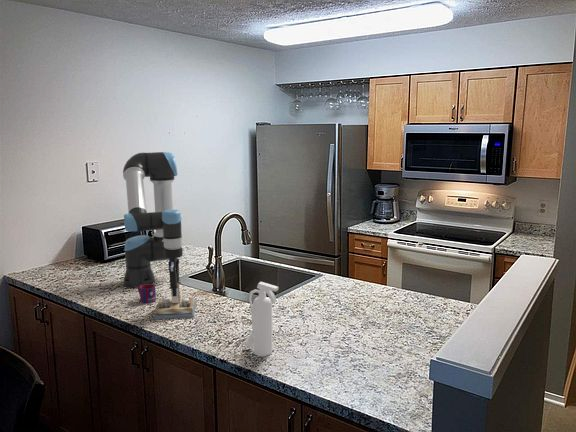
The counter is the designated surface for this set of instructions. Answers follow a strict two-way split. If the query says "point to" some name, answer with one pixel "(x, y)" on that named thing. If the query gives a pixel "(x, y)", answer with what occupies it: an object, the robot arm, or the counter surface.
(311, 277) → the counter surface
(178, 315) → the board
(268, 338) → the fire extinguisher
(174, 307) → the peg stand base
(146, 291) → the red patterned cup
